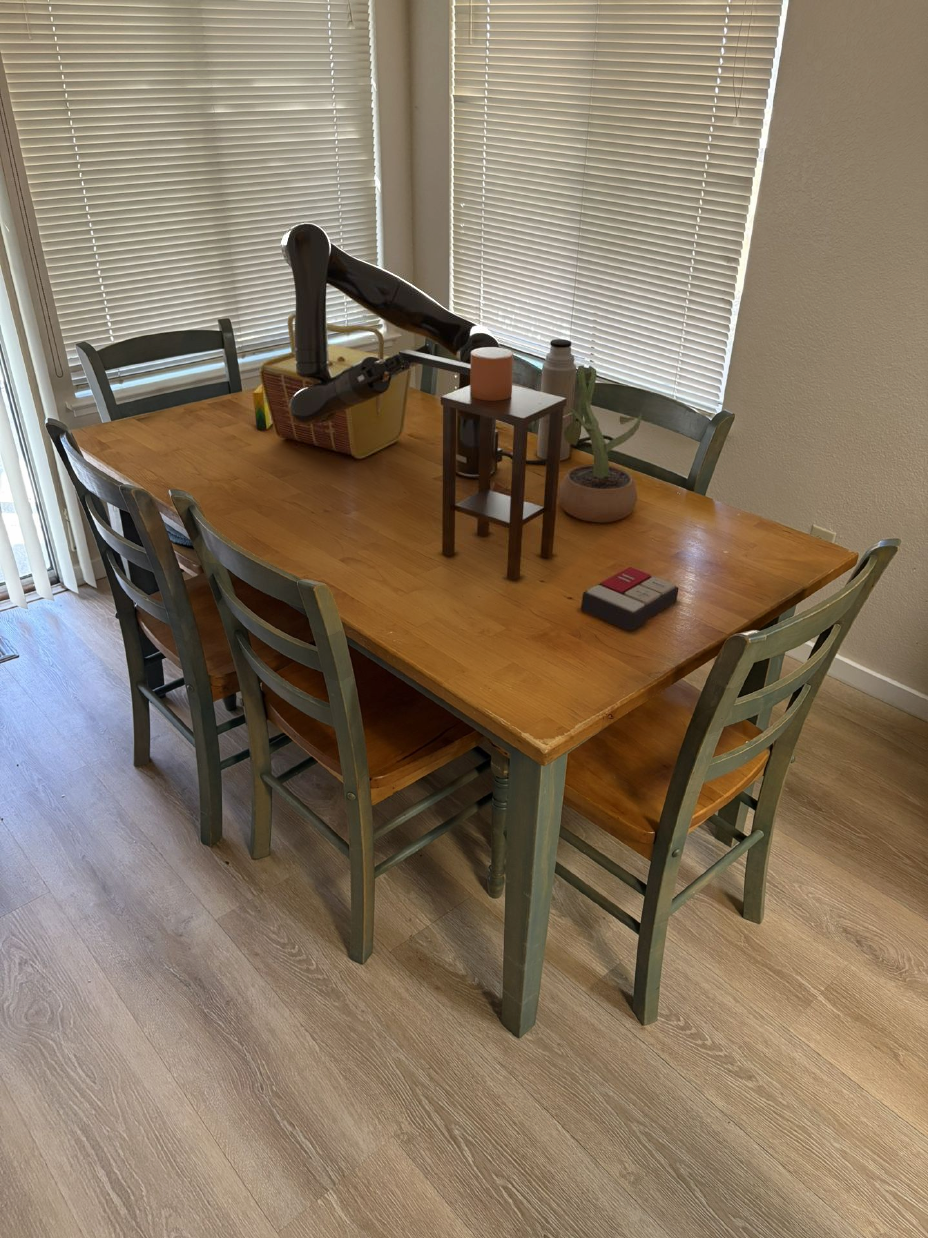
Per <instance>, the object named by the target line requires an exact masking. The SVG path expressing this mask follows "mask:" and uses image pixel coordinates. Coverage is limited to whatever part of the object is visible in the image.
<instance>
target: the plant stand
mask: <svg viewBox="0 0 928 1238" xmlns="http://www.w3.org/2000/svg"><path fill="white" fill-rule="evenodd" d="M566 401H567V398H564V397H559V396H555V395H551V394H547V393H543V392H541V391H539V390H534V389H530V388H526V387H523V386H518V385H514V384H512V395H511V397H510V398H508V399H504V400H498V401H486V400H480V399H476V398H474V397H472V396H471V395H470V385H469V386H467V387H464V388H462V389H459V390H457V389H456V390H454V391H452V392H449V393H447V394H443V395H441V396H440V406H442V514H441V515H442V516H441V517H442V519H441V520H442V521H441V522H442V523H441V524H442V527H441V529H442V531H441V534H442V536H441V537H442V539H441V540H442V541H441V542H442V544H441V548H442V549H441V554H442V555H443V556H445V557H448V558H450V557H451V556H453V555H455V551H456V550H455V549H456V547H455V546H456V512H458V513H461V514H463V515H467V516H470V517H472V518H476V519H477V520H476V521H477V522H476V534H477V535H479V536H481V537H486V536H487V535H489V534H490V523H491V524H493V525H497V526H500V527H502V528H504V529H505V528H506V529H508V542H507V543H508V544H507V565H506V566H507V567H506V579H508V580H510V581H513V582H516V581H517V580H519V579H520V578H521V564H522V563H521V561H522V560H521V559H522V546H523V545H522V544H523V527H524V526H525V525H526V524H528V523H530V522H531V521H533V520H534V519H536V518H538V517H539V516H541V515H542V524H541V525H542V526H541V540H540V555H539V556H540V558H544V559H550V558H551V557H553V555H554V541H555V527H556V517H557V516H556V515H557V503H558V501H557V500H558V491H559V490H558V489H559V476H560V474H559V473H560V462H561V460H560V450H561V436H562V423H563V410H564V407H565V406H566ZM456 409H459V410H462V411H466V412H470V413H474V414H477V415H480V443H479V478H478V485H477V486H478V487H477V493H475V494H473V495H470V496H469V497H467V498H465V499H463V500H461V501H459V502H458V503H456V484H457V482H456V480H457V479H456V478H457V477H456V475H457V473H456ZM549 414H550V420H549V435H548V449H547V463H545V464H546V465H545V466H546V467H545V481H544V495H543V496H544V497H543V506H541V505H538V504H535V503H531V502H529V501H526V500H525V491H526V490H525V487H526V472H527V471H526V469H527V468H526V467H527V464H526V460H527V450H528V434H529V425H530V424H531V423H534V422H536V421H538V420H540V418H542V417H544V416H547V415H549ZM493 419H496V421H499V422H504V423H508V424H511V425H513V435H512V436H513V437H512V455H513V457H512V460H511V483H510V490H511V497H509V496H506V495H503V494H500V493H497V492H494V491H491V490H490V486H491V484H492V475H491V455H492V425H493Z"/></svg>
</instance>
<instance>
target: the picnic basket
mask: <svg viewBox="0 0 928 1238" xmlns="http://www.w3.org/2000/svg"><path fill="white" fill-rule="evenodd" d="M294 320H295V312H293V313H292V314H290V315H289V316H288V318H287V329H288V330H287V331H288V336H289V344H290V350H291V351H290V352H288V353H285V354H282V355H279V356H275V357H273V358H270V359H268V360H265V361H264V362H262V364H261V365H260V367H259V371H258V372H259V379H260V382H261V384H262V386H263V390H264V393H265V397H266V401H267V404H268V408H269V412H270V415H271V419H272V427H273V429H274V432H275V434H276V435H277V436H278V437H279V438H280V439H284V440H285V439H289V440H294V441H296V442H301V443H305V444H308V445H312V446H315V447H316V446H317V447H320V448H323V449H327V450H330V451H335V452H338V453H342V454H346V455H349V456H352V457H353V458H355V459H357V460H361V459H365V458H367V457H369V456H371V455H373V454H375V453H377V452H378V451H381V450H383V449H385V448H386V447H388V446H392V445H393V444H395V443H396V442H397V441H398V440H399V439H400V438H401V436H402V434H403V432H404V430H405V429H404V428H405V422H406V414H407V407H408V400H409V392H410V383H411V379H412V369H413V367H411V369H410V370H408V371H406V372H403V373H401V374H399V375H398V376H397V377H395V378H393V379H390V386H389V388H388V390H387V391H386V392H384V393H382V394H380V395H378V396H376V397H374V398H372V399H370V400H368V401H366V402H363V403H361V404H357V405H355V406H353V407H351V408H348V409H346V410H344V411H340V412H337V414H336V416H335V417H334V419H332V420H331V421H328V422H321V423H313V424H301V423H299V422H297V421H296V420H294V419H293V417H292V416H291V413H290V409H289V405H290V401H291V399H292V397H293V396H294V394H295V393H297V392H298V391H300V390H302V389H304V388H307V387H310V386H312V383H311V381H310V379H307V378H302V377H300V376H298V374H297V373H296V367H295V362H296V361H295V350H294V349H295V348H294ZM327 331H330V332H333V333H340V334H346V333H347V334H348V333H353V332H356V331H365V332H370V333H373V334H375V335H376V336H377V340H378V346H377V349H378V350H377V353H374V352H373V353H372V352H368V351H363V350H357V349H353V348H349V347H343V346H339V345H334V344H329V343H328V354H329V370H330V373H331V376H332V377H334V376H336V375H338V374H339V373H341V372H342V371H343V370H345V369H346V368H348V367H350V366H352V365H353V364H355V363H357V362H359V361H361V360H363V359H365V358H366V357H370V356H372V357H376V358H378V359H380V360H384V359H386V358H389V357H390V356H387V355H384V354H385V340H384V335H383V333H382V332H381V331H380V330H379V329H378V328H375V327H373V326H368V325H361V324H355V325H354V324H352V325H338V324H337V325H336V324H333V323H329V322H327ZM401 370H402V369H401Z"/></svg>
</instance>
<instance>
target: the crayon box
mask: <svg viewBox="0 0 928 1238" xmlns="http://www.w3.org/2000/svg"><path fill="white" fill-rule="evenodd" d="M252 397H253V398H252V399H253V407H254V417H255V425H256V430H268V429H269V428H270V427H271V425H273V423H272V419H271V415H270V412H269V408H268V404H267V401H266V397H265V393H264V390H263V386H262V383H261V384H260V385H259V386H258V387H257V388H256V389H255V390H253V392H252Z"/></svg>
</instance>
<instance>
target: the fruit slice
mask: <svg viewBox="0 0 928 1238" xmlns="http://www.w3.org/2000/svg"><path fill="white" fill-rule="evenodd" d="M490 490H491V491H494V492H497V493H500V494H503V495H506V496H509V497H511V488H508V486H503V485H501V484H500V483H497V482H496V481H494V480H492V481H491V484H490Z"/></svg>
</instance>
